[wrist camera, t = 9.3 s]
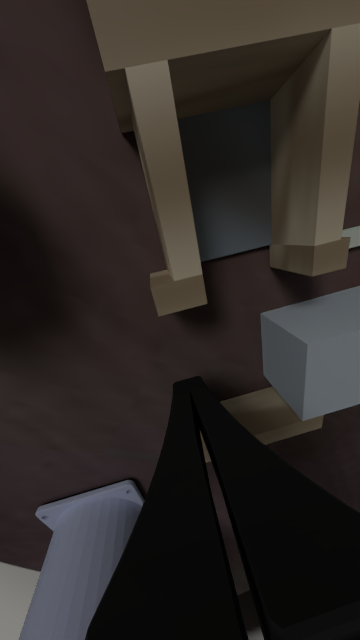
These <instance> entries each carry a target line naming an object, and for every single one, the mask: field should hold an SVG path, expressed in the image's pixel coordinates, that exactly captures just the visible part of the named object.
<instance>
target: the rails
mask: <svg viewBox="0 0 360 640" xmlns="http://www.w3.org/2000/svg"><path fill="white" fill-rule="evenodd" d="M341 237H351V238H350V244H349V248H352V247H356V246H360V226H357V227H353V228H349V229H345V230H342V236H341Z"/></svg>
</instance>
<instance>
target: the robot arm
mask: <svg viewBox="0 0 360 640" xmlns="http://www.w3.org/2000/svg"><path fill="white" fill-rule="evenodd" d="M200 431H201V434H202V437H203V440H204V442H205V445H206V448H207V451H208V453H209V456H210V459H211V462H212V464H213V467H214V470H215V473H216V475H217V478H218V481H219V484H220V487H221V490H222V493H223V497H224V500H225V504H226V507H227V511H228V514H229V518H230V521H231V525H232V528H233V532H234V535H235V539H236V542H237V546H238V549H239V553H240V556H241V560H242V563H243V567H244V570H245V574H246V577H247V581H248V584H249V588H250V591H251V595H252V598H253V602H254V605H255V609H256V612H257V615H258V619H259V623H260V626H261V630H262V633H263V637H264V640H360V513H359V512H357V511H356V510H354V509H353V508H351V507H350V506H348V505H347V504H345V503H343V502H342V501H340V500H339V499H337V498H336V497H334V496H333V495H331V494H330V493H328V492H327V491H326V490H324V489H323V488H321V487H320V486H318V485H317V484H316V483H314V482H313V481H311V480H310V479H308V478H307V477H306V476H304V475H303V474H302V473H300V472H299V471H298V470H296V469H295V468H294V467H292V466H291V465H290V464H288V463H287V462H286V461H284V460H283V459H282V458H280V457H279V456H278V455H276V454H275V453H274V452H273V451H271V450H270V449H269V448H268V447H266V446H265V445H264V444H263V443H262V442H260V441H259V440H258V439H257V438H256V437H255V436H253V435H252V434H251V433H250V432H249V431H248V430H247V429H246V428H245V427H244V426H242V425H241V424H240V423H239V422H238V421H237V420H236V419H235V418H234V417H233V416H232V415H231V414H230V413H229V412H228V411H227V410H226V409H225V407H224V406H223V405H222V404H221V403H220V402H219V401H218V400H217V399H216V397H215V396H214V395H213V394H212V392H211V391H210V390H209V389H208V387H207V386H206V385H205V383H204V382H203V380H202V378H201V377H200V376H196V377H192V378H189V379H185V380H182V381H178V382H175V383H174V384H173V397H172V405H171V411H170V417H169V422H168V427H167V431H166V435H165V439H164V443H163V447H162V450H161V454H160V457H159V460H158V463H157V467H156V470H155V473H154V476H153V479H152V481H151V484H150V487H149V490H148V493H147V495H146V498H145V500H144V499H143V497H142V495H141V493H140V492H139V490H138V488H137V487H136V485H135V483H134V482H133V481H132V480H126V481H122V482H119V483H116V484H112V485H109V486H106V487H102V488H99V489H96V490H92V491H89V492H86V493H82V494H79V495H76V496H72V497H69V498H66V499H62V500H59V501H56V502H52V503H49V504H46V505H42V506H40V507H39V508H38V509H37V511H36V514H35V515H36V516H37V517H38V518H39V519H40V520H41V521H42V522H43V523H45V524H46V525H47V526H48V527H49V528H50V529H51V530H53V531H54V533H53V536H52V539H51V542H50V545H49V548H48V551H47V555H46V558H45V561H44V564H43V567H42V570H41V573H40V576H39V579H38V582H37V585H36V588H35V591H34V594H33V598H32V600H31V604H30V607H29V610H28V613H27V616H26V619H25V622H24V625H23V628H22V631H21V634H20V637H19V640H248V636H247V632H246V628H245V624H244V620H243V617H242V612H241V609H240V605H239V601H238V597H237V593H236V589H235V585H234V581H233V577H232V573H231V569H230V565H229V561H228V557H227V553H226V549H225V545H224V541H223V537H222V533H221V529H220V525H219V521H218V517H217V513H216V509H215V505H214V501H213V497H212V493H211V488H210V484H209V478H208V473H207V467H206V462H205V456H204V451H203V445H202V439H201V434H200Z"/></svg>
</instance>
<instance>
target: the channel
mask: <svg viewBox="0 0 360 640" xmlns="http://www.w3.org/2000/svg"><path fill="white" fill-rule="evenodd" d="M86 1H87V4H88V8H89V12H90V16H91V20H92V24H93V27H94V31H95V35H96V39H97V43H98V46H99V50H100V54H101V58H102V62H103V66H104V69H105V73H106V77H107V81H108V85H109V88H110V92H111V96H112V100H113V104H114V107H115V111H116V115H117V119H118V123H119V126H120V130H121V133H126V132H131V131H134V134H135V138H136V142H137V146H138V150H139V155H140V159H141V163H142V167H143V171H144V175H145V180H146V184H147V188H148V192H149V196H150V200H151V205H152V209H153V213H154V217H155V221H156V225H157V230H158V234H159V238H160V242H161V246H162V250H163V255H164V259H165V263H166V267H167V270H163V271H159V272H155V273H151V274H150V288H151V291H152V294H153V298H154V301H155V305H156V308H157V312H158V315H159V316H162V315H166V314H170V313H174V312H178V311H181V310H185V309H189V308H193V307H197V306H201V305H204V304H207V298H206V292H205V286H204V280H203V274H202V268H201V262H202V261H206V260H210V259H214V258H219V257H223V256H227V255H231V254H235V253H239V252H243V251H247V250H251V249H255V248H259V247H263V246H267V245H270V267H272V268H277V269H281V270H286V271H290V272H295V273H299V274H303V275H308V276H316V275H320V274H324V273H328V272H332V271H336V270H339V269H343V268H346V264H347V258H348V251H349V244H350V238H351V237H341V236H342V229H343V221H344V214H345V206H346V199H347V191H348V184H349V176H350V169H351V161H352V154H353V146H354V139H355V131H356V123H357V116H358V108H359V101H360V0H86ZM220 403H221V404H222V405H223V406H224V407H225V409H226V410H227V411H228V412H229V413H230V414H231V415H232V416H233V417H234V418H235V419H236V420H237V421H238V422H239V423H240V424H241V425H242V426H244V427H245V428H246V429H247V430H248V431H249V432H250V433H251V434H252V435H253V436H255V437H256V438H257V439H258V440H259V441H260V442H262V443H263V444H264V445H266V444H269V443H273V442H276V441H279V440H283V439H286V438H289V437H292V436H296V435H299V434H302V433H306V432H309V431H312V430H316V429H319V428H322V422H323V416H324V415H321V416H318V417H315V418H311V419H308V420H305V421H302V420H301V419H300V418H299V417H298V415H297V414H296V413H295V412H294V411H293V409H292V408H291V407H290V406H289V405H288V403H287V402H286V401H285V400H284V399H283V398H282V396H281V395H280V394H279V393H278V392H277V390H276V389H275V388H274V387H273V386H272V387H269V388H265V389H262V390H259V391H255V392H252V393H248V394H245V395H241V396H238V397H234V398H231V399H227V400H224V401H220ZM200 434H201V431H200ZM201 439H202V445H203V451H204V456H205V462H206V463H207V462H210V461H211V459H210V456H209V453H208V451H207V448H206V445H205V442H204V440H203V437H202V434H201Z"/></svg>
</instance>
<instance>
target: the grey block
mask: <svg viewBox="0 0 360 640" xmlns="http://www.w3.org/2000/svg"><path fill="white" fill-rule="evenodd" d="M261 332H262V352H263V372H264V376H265V377H266V379H267V380H268V381H269V382H270V383H271V385H272V386H273V387H274V388H275V389H276V390H277V392H278V393H279V394H280V395H281V396H282V398H283V399H284V400H285V401H286V402H287V403H288V405H289V406H290V407H291V408H292V409H293V411H294V412H295V413H296V414H297V415H298V417H299V418H300V419H301V420H302V421H305V420H308V419H311V418H315V417H318V416H321V415H324V414H328V413H331V412H334V411H338V410H341V409H344V408H347V407H351V406H354V405H357V404H360V286H358V287H354V288H351V289H347V290H343V291H340V292H336V293H332V294H329V295H325V296H322V297H318V298H314V299H311V300H307V301H303V302H300V303H296V304H293V305H289V306H285V307H282V308H278V309H274V310H271V311H267V312H264V313H261Z"/></svg>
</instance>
